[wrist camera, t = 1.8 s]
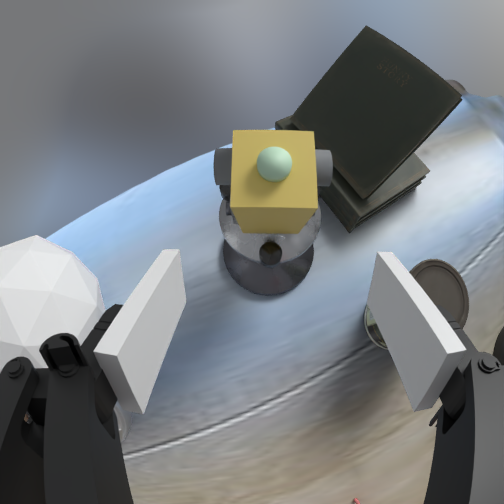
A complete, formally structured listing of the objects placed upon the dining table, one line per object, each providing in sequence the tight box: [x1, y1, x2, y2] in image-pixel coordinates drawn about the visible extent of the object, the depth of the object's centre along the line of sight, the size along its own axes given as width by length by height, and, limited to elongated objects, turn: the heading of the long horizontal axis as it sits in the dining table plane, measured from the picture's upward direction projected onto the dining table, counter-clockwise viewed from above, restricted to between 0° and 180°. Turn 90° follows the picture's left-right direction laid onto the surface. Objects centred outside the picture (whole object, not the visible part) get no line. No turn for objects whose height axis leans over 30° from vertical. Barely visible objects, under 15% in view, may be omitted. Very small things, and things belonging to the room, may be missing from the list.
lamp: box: [0, 235, 132, 443], centre depth 32 cm, size 22×34×24 cm, turn 29°
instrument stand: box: [219, 185, 321, 295], centre depth 38 cm, size 14×14×17 cm
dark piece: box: [275, 26, 462, 233], centre depth 40 cm, size 23×20×25 cm
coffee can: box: [364, 259, 469, 350], centre depth 35 cm, size 10×10×14 cm
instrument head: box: [214, 130, 333, 234], centre depth 25 cm, size 6×9×13 cm, turn 89°
